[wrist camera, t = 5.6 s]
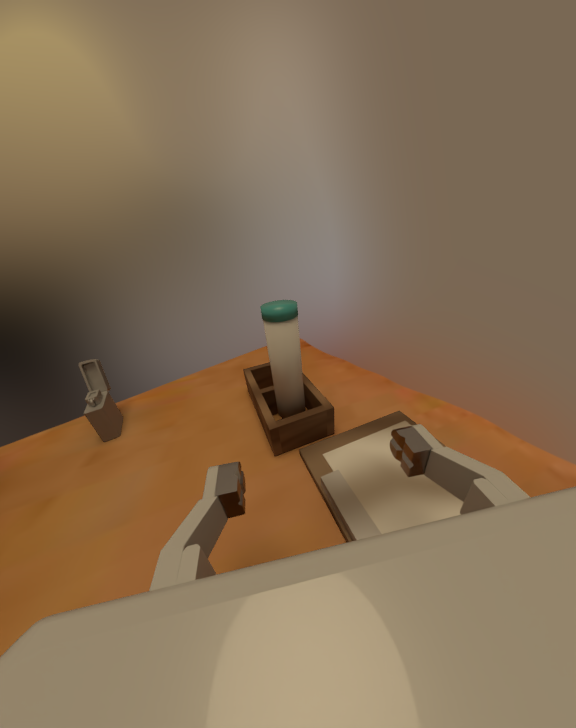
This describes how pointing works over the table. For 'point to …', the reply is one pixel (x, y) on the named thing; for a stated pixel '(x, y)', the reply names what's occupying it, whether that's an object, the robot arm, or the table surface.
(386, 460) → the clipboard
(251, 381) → the box
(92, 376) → the lighter
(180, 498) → the table surface
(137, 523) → the table surface
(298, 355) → the marker
